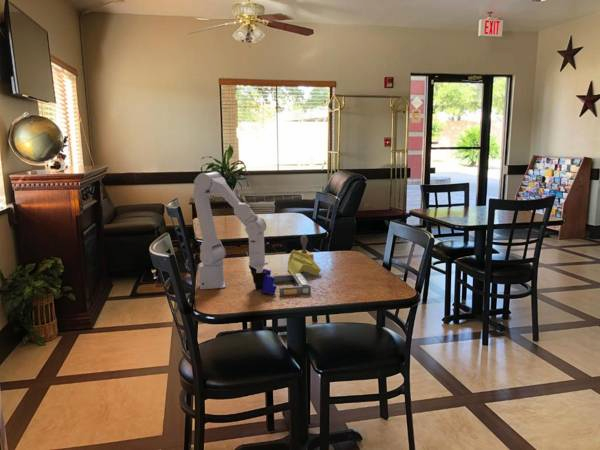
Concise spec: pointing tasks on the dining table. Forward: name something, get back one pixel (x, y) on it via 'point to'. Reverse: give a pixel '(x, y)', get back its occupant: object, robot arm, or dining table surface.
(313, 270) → the plastic component
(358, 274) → the dining table surface
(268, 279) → the blue arched block
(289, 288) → the rack
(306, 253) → the rubber stamp
